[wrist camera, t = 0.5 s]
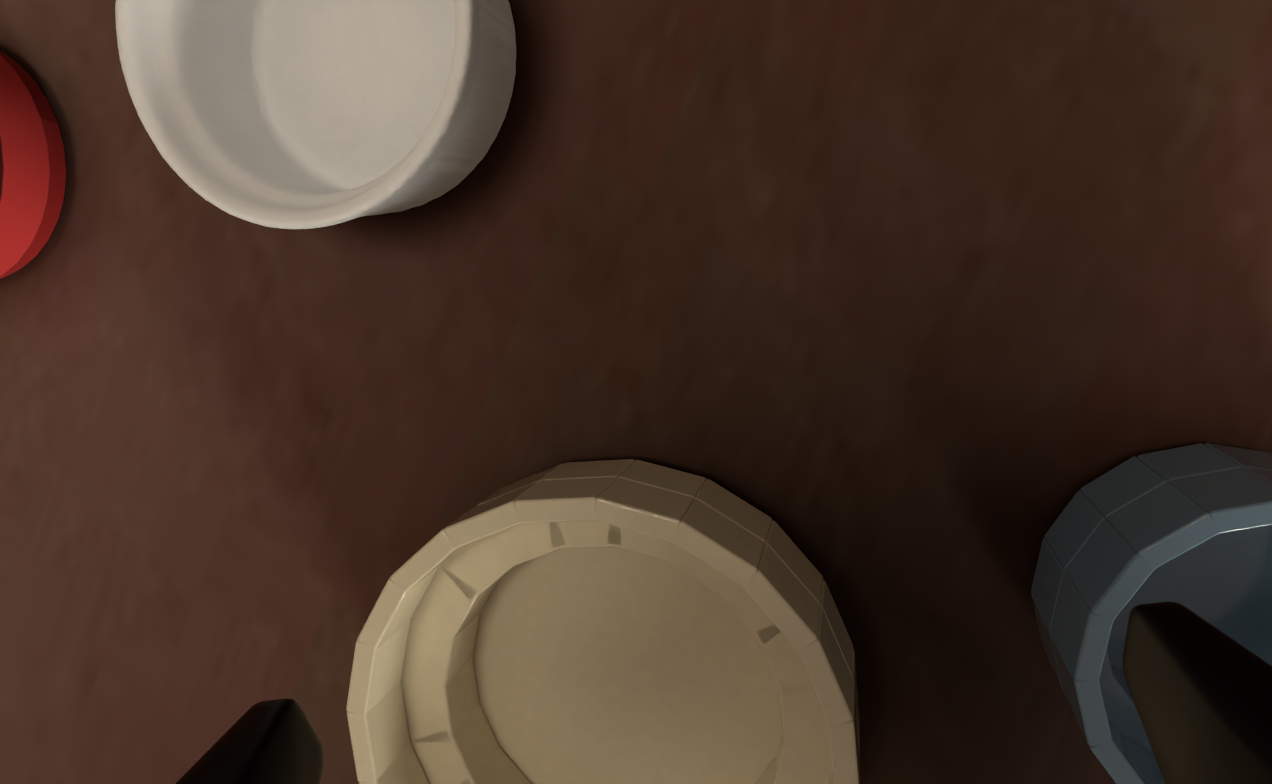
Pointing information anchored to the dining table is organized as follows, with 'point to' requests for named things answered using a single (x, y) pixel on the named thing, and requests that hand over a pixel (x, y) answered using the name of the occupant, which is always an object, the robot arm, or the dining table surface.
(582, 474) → the cream bowl
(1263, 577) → the slate bowl
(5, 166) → the canned food
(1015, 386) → the dining table surface
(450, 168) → the ramekin
